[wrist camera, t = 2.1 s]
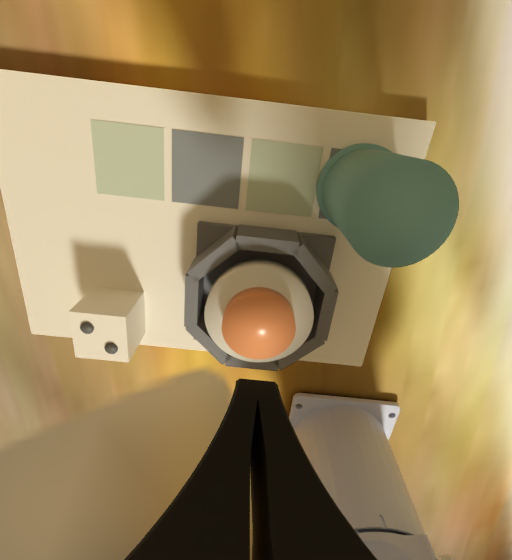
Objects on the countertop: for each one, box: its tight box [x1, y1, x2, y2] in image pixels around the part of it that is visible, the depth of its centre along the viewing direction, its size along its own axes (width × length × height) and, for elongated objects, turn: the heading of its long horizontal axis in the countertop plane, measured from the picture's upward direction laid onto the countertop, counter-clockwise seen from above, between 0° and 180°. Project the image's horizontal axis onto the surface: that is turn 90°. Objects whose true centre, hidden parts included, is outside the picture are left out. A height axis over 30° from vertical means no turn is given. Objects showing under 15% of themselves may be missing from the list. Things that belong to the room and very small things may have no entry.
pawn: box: [316, 143, 459, 268], centre depth 15 cm, size 4×4×6 cm
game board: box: [0, 69, 436, 371], centre depth 18 cm, size 15×22×4 cm
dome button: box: [204, 259, 314, 362], centre depth 17 cm, size 6×6×2 cm
